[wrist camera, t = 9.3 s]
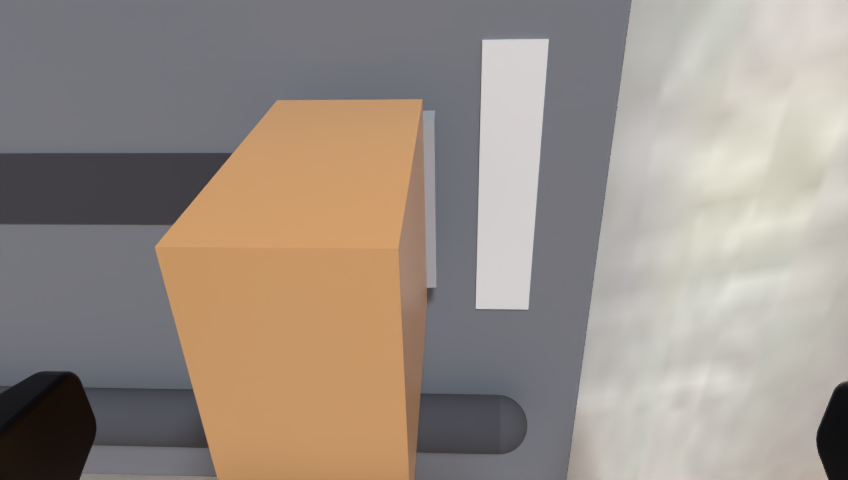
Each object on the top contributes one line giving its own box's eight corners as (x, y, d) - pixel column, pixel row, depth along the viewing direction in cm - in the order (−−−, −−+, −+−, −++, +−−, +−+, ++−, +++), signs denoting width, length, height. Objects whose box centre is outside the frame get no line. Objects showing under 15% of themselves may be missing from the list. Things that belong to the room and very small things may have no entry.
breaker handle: (437, 287, 14) (425, 522, 9) (302, 286, 14) (213, 515, 9) (434, 89, 12) (417, 249, 6) (274, 90, 12) (136, 246, 7)
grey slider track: (523, 424, 16) (528, 467, 15) (-257, 408, 17) (-311, 448, 16) (573, -211, 10) (590, -224, 8) (-697, -171, 11) (-846, -178, 9)
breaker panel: (551, 406, 20) (566, 488, 17) (-167, 392, 21) (-257, 467, 18) (634, -351, 11) (690, -428, 8) (-618, -298, 12) (-921, -350, 9)
